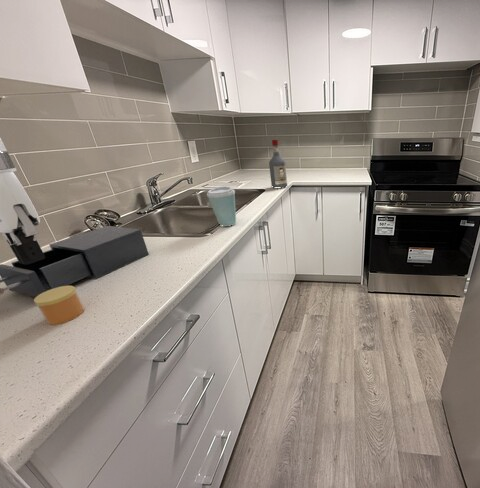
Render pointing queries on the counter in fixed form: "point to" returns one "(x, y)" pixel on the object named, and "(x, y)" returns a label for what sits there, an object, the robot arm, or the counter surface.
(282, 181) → the liquor
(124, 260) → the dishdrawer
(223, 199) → the disposable coffee cup
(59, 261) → the drawer
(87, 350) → the counter surface
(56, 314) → the jar
